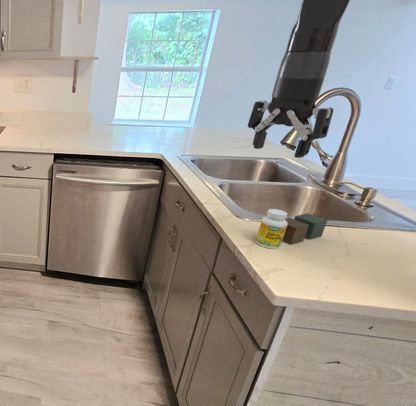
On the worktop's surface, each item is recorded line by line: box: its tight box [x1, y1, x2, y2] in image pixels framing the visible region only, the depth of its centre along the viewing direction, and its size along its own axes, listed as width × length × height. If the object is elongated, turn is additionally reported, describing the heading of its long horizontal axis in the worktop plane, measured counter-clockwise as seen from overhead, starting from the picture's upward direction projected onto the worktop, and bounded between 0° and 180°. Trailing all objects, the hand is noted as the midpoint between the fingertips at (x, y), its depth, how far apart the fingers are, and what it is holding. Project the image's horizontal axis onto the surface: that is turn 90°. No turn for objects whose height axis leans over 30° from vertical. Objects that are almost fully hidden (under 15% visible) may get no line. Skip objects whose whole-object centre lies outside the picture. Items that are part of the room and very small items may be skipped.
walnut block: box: [282, 217, 309, 246], centre depth 99 cm, size 5×5×5 cm
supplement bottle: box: [255, 208, 288, 250], centre depth 96 cm, size 5×5×10 cm
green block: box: [293, 212, 329, 240], centre depth 101 cm, size 5×5×5 cm
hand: (277, 152), depth 80 cm, fingers open, 8 cm apart
